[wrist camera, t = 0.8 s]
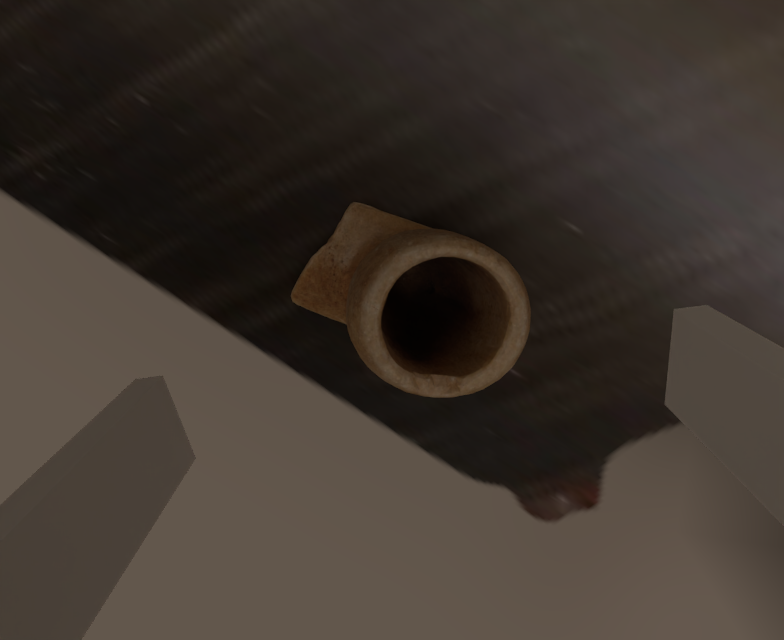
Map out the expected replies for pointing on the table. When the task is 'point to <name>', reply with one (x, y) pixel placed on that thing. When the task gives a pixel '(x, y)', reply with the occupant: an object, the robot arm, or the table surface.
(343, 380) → the table surface
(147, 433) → the robot arm
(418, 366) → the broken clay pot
